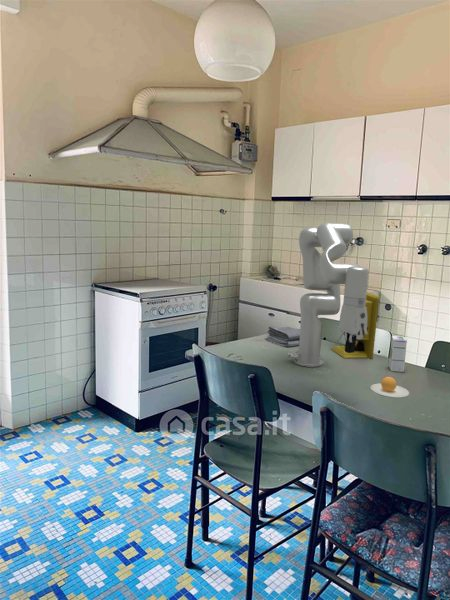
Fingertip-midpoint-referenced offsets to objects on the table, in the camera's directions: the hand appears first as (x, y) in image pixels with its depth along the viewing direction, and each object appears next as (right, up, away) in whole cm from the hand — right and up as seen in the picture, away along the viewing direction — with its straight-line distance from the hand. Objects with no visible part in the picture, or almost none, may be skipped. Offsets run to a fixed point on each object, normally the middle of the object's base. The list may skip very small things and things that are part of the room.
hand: (349, 352), depth 162 cm
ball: (+18, -13, +10) cm, 25 cm away
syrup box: (+31, -12, +37) cm, 50 cm away
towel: (-12, -4, +75) cm, 76 cm away
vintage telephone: (+16, -7, +60) cm, 62 cm away
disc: (+19, -16, +12) cm, 27 cm away
